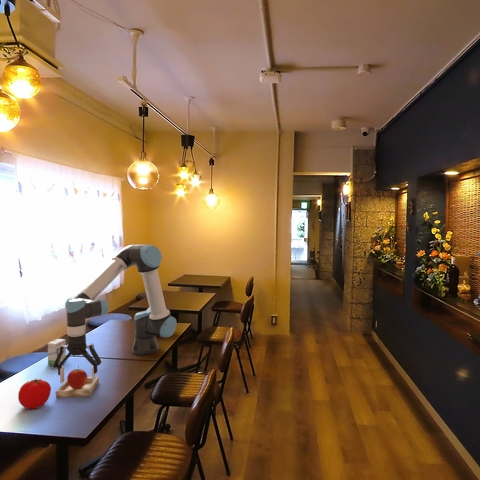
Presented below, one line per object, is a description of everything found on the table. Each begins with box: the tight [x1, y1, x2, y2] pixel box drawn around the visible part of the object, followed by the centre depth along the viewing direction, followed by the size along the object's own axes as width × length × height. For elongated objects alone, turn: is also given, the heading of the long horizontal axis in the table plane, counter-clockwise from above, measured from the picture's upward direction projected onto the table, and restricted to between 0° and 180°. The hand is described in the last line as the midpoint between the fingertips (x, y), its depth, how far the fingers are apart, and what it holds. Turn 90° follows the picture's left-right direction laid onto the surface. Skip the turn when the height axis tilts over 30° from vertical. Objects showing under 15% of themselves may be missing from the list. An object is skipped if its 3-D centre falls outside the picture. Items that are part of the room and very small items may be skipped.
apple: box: [66, 365, 88, 389], centre depth 170 cm, size 8×8×10 cm
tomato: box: [18, 378, 52, 410], centre depth 157 cm, size 12×12×11 cm
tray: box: [55, 376, 100, 399], centre depth 171 cm, size 14×14×3 cm
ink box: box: [47, 338, 67, 366], centre depth 206 cm, size 9×5×12 cm, turn 168°
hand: (78, 381), depth 171 cm, fingers open, 13 cm apart
